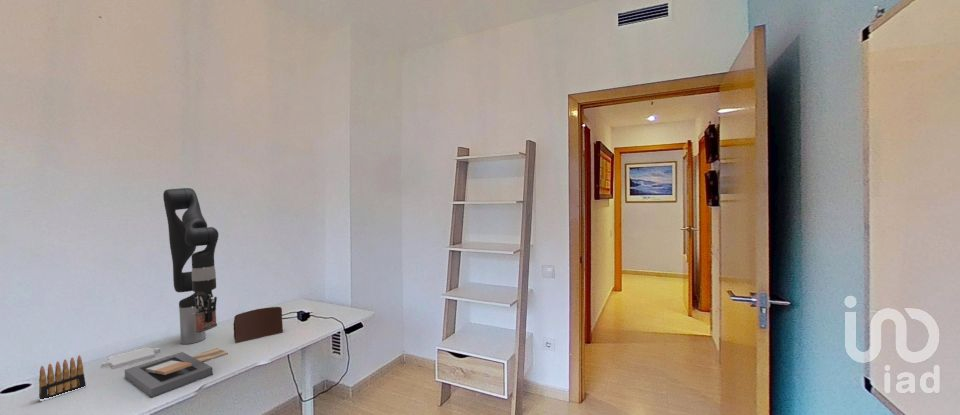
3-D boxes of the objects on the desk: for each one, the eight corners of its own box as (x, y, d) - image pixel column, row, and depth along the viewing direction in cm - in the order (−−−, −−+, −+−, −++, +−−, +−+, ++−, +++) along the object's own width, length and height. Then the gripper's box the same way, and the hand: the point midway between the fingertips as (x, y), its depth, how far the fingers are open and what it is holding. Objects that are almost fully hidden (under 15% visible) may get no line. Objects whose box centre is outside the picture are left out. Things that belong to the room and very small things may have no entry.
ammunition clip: (83, 385, 132) (81, 353, 132) (85, 387, 132) (83, 354, 131) (39, 401, 123) (36, 366, 123) (40, 402, 122) (38, 367, 122)
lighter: (200, 332, 139) (199, 307, 138) (193, 332, 139) (192, 307, 139) (219, 325, 147) (218, 301, 146) (212, 325, 147) (211, 300, 147)
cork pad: (190, 357, 154) (190, 356, 154) (217, 349, 162) (217, 347, 162) (200, 363, 149) (200, 361, 149) (227, 353, 157) (227, 352, 157)
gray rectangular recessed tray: (124, 377, 138) (124, 369, 138) (182, 358, 153) (182, 351, 153) (151, 397, 123) (151, 389, 123) (212, 374, 138) (212, 367, 138)
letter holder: (283, 333, 181) (281, 305, 180) (235, 343, 168) (233, 313, 168) (279, 327, 188) (278, 300, 188) (233, 337, 176) (232, 308, 176)
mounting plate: (155, 348, 165) (155, 344, 165) (163, 356, 158) (162, 351, 158) (99, 363, 151) (99, 359, 151) (104, 372, 143) (103, 367, 143)
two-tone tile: (145, 371, 140) (145, 368, 140) (171, 362, 147) (171, 360, 147) (165, 374, 129) (164, 372, 129) (191, 365, 136) (191, 362, 136)
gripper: (184, 278, 143) (186, 321, 143) (201, 281, 135) (203, 326, 136) (206, 274, 149) (208, 315, 150) (223, 277, 142) (225, 320, 142)
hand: (206, 320), depth 143 cm, fingers closed on lighter, 4 cm apart
